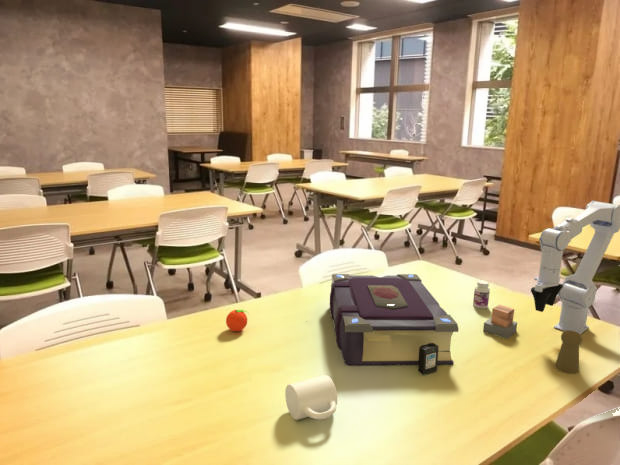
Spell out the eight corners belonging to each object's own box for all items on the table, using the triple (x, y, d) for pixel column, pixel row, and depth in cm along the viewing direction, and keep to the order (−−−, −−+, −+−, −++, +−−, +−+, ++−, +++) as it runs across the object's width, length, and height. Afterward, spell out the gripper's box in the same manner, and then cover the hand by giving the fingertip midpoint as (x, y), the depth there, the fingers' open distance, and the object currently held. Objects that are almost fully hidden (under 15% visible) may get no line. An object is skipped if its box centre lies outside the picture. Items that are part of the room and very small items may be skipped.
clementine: (246, 323, 157) (246, 304, 155) (253, 332, 151) (253, 311, 149) (223, 328, 153) (223, 308, 152) (229, 336, 147) (229, 315, 146)
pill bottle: (471, 306, 174) (473, 282, 172) (474, 302, 178) (477, 278, 176) (486, 310, 171) (489, 285, 169) (489, 305, 176) (492, 281, 173)
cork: (582, 375, 128) (588, 338, 125) (558, 372, 129) (564, 336, 126) (574, 364, 133) (580, 329, 131) (552, 361, 135) (557, 326, 132)
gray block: (492, 325, 160) (493, 315, 159) (516, 332, 154) (517, 322, 154) (483, 332, 154) (484, 322, 153) (507, 340, 149) (508, 330, 148)
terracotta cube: (498, 318, 157) (499, 304, 155) (512, 323, 153) (514, 309, 152) (490, 322, 153) (492, 308, 152) (505, 327, 150) (507, 313, 149)
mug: (284, 408, 111) (284, 378, 109) (321, 397, 116) (322, 368, 114) (307, 438, 101) (307, 405, 99) (346, 425, 105) (347, 394, 103)
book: (339, 367, 130) (340, 321, 127) (326, 305, 174) (327, 270, 171) (455, 366, 132) (460, 321, 128) (413, 305, 175) (416, 270, 172)
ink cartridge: (423, 376, 126) (424, 349, 124) (417, 372, 128) (419, 345, 126) (437, 371, 128) (439, 345, 126) (431, 367, 130) (433, 342, 128)
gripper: (546, 259, 152) (540, 298, 155) (527, 268, 142) (521, 309, 145) (569, 264, 147) (563, 304, 150) (551, 274, 137) (545, 316, 140)
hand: (544, 307), depth 147 cm, fingers open, 7 cm apart
